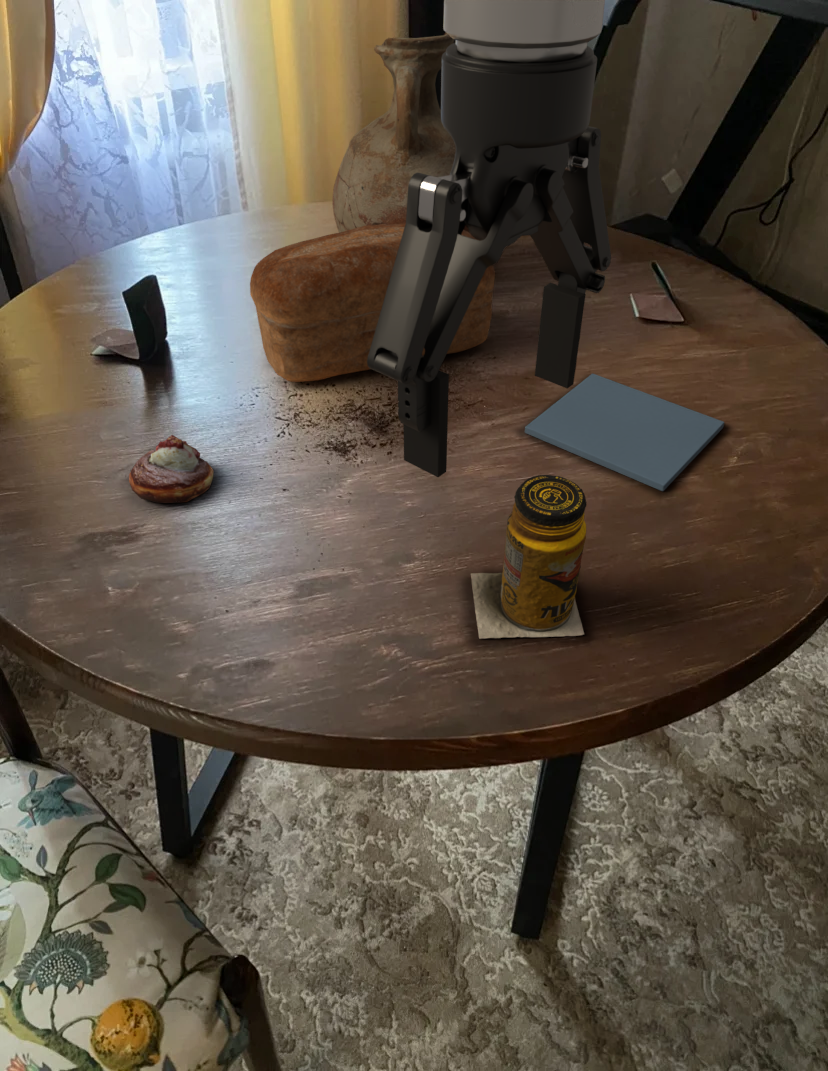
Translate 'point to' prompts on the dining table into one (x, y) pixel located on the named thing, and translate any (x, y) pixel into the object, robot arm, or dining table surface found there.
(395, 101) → the jug
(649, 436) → the sauce mat
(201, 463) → the pastry
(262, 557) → the dining table surface
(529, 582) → the condiment
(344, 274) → the bread
